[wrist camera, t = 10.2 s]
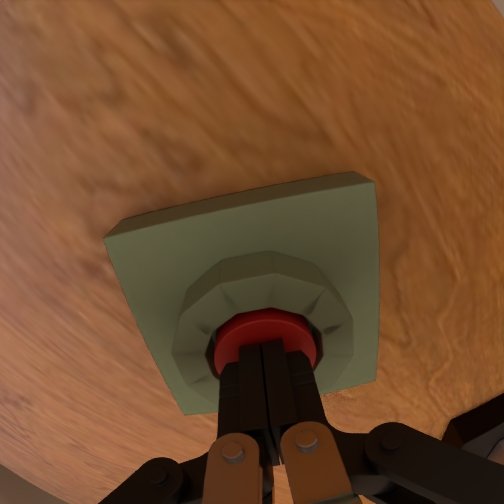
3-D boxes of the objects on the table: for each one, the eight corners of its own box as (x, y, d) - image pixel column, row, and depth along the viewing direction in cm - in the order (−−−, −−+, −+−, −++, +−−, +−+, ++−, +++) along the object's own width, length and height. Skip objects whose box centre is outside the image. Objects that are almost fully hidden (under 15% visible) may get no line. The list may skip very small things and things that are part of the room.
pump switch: (354, 170, 12) (398, 193, 9) (363, 354, 16) (387, 406, 13) (120, 219, 13) (81, 258, 9) (187, 386, 17) (180, 443, 13)
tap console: (534, 374, 20) (549, 392, 17) (500, 434, 25) (510, 451, 22) (450, 420, 21) (464, 445, 18) (424, 472, 25) (432, 493, 22)
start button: (301, 283, 12) (311, 309, 10) (311, 355, 13) (319, 384, 11) (205, 301, 12) (201, 330, 10) (228, 370, 13) (228, 400, 11)
